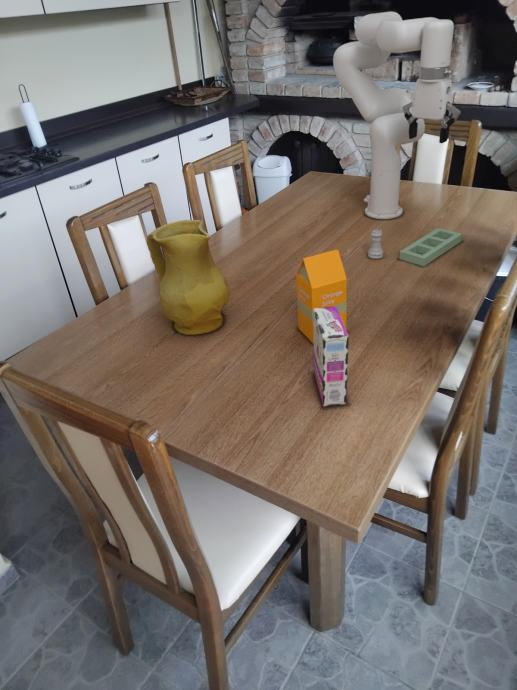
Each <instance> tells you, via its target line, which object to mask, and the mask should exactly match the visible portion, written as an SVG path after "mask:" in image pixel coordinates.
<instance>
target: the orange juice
mask: <svg viewBox="0 0 517 690" xmlns="http://www.w3.org/2000/svg"><path fill="white" fill-rule="evenodd" d="M295 279H296V305H297V325H298V330H299V331H300V332H301V333H302V334H303V335H304V336H305V337H306V338H307V339H308V340H309V341H310V342H311V343H312V344H313V345H314V308H323V307H333V306H337V308H338V311H339V313H340V316H341V318H342V321H343V323H344V326H345V328H346V329H347V310H348V309H347V308H348V307H347V305H348V304H347V296H348V295H347V290H348V289H347V287H348V285H347V284H348V278H347V274H346V271H345V268H344V265H343V261H342V258H341V255H340V252H339V248H338V249H333V250H330V251H326V252H322V253H319V254H315V255H311V256H307V257H303V258H302V261H301V264H300V266H299V268H298V270H297V272H296V274H295Z"/></svg>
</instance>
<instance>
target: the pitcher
mask: <svg viewBox="0 0 517 690" xmlns="http://www.w3.org/2000/svg"><path fill="white" fill-rule="evenodd" d="M210 239H211V236H210V234H209V233H208V232H206V229H205V222H204V221H203V220H202V219H182V220H177V221H173V222H170V223H166V224H163V225H161V226H159V227H156V228H155V229H154V230H153V231H151V232H150V233H148V234H147V236H146V245H147V248H148V251H150V259H151V261H152V264H153V265H154V266H155V271H156V273H157V275H158V282H159V286H158V297H159V303H160V306H161V308H162V312H163V314H164V315H165V317H166V318H167V319H168V320H170V321H172V322H174V325H173V326H174V329H175V331H177V333H178V334H183V335H187V336H188V335H190V336H192V335H194V336H196V335H202V334H206V333H207V334H208V333H211V332H213V331H216V330H217V329H219V328H221V326H223V321H224V316H223V314H222V310H223V308H224V307H225V306H227V305H228V302H229V300H230V296H231V292H230V286H229V283H228V281H227V278H226V277H225V275H224V273H223V272H222V271H221V270H220V269H219V267H218V266H217V265H216V263H215V261H214V258H213V255H212V253H211V248H210V243H209V241H210Z"/></svg>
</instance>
